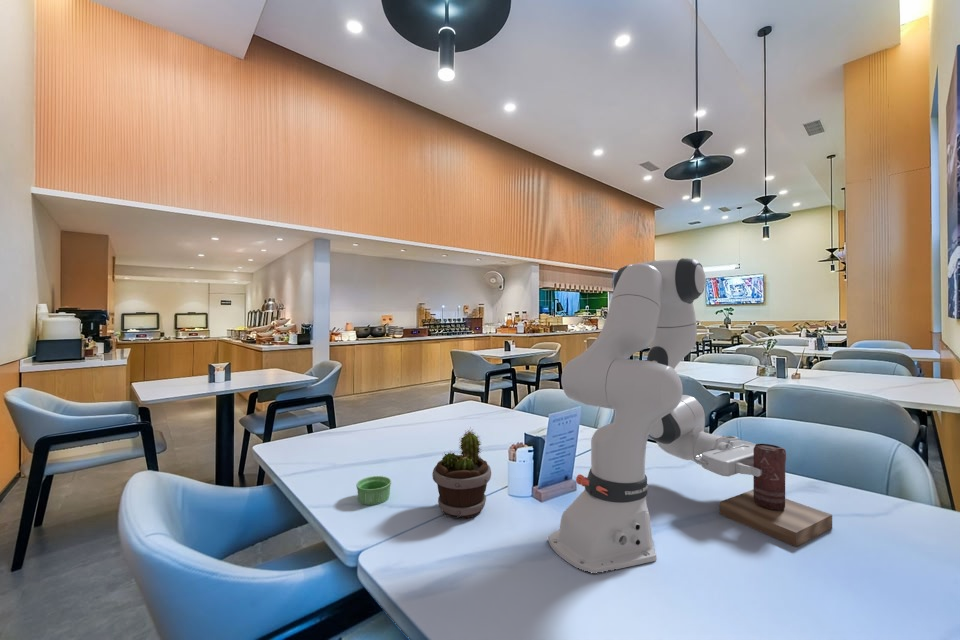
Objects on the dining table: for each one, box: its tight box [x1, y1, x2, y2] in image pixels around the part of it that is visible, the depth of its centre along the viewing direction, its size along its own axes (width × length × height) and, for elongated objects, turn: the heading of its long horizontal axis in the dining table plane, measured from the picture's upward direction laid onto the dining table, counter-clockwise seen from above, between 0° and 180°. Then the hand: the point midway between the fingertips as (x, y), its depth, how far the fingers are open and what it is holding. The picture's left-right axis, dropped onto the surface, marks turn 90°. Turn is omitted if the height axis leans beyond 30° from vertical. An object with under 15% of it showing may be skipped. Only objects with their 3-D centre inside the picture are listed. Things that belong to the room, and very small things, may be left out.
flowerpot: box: [431, 426, 492, 520], centre depth 100 cm, size 14×15×20 cm
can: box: [753, 443, 787, 511], centre depth 95 cm, size 6×6×14 cm
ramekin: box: [356, 475, 392, 506], centre depth 107 cm, size 9×9×4 cm
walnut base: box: [718, 488, 833, 548], centre depth 94 cm, size 16×16×3 cm
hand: (772, 469), depth 94 cm, fingers open, 8 cm apart
